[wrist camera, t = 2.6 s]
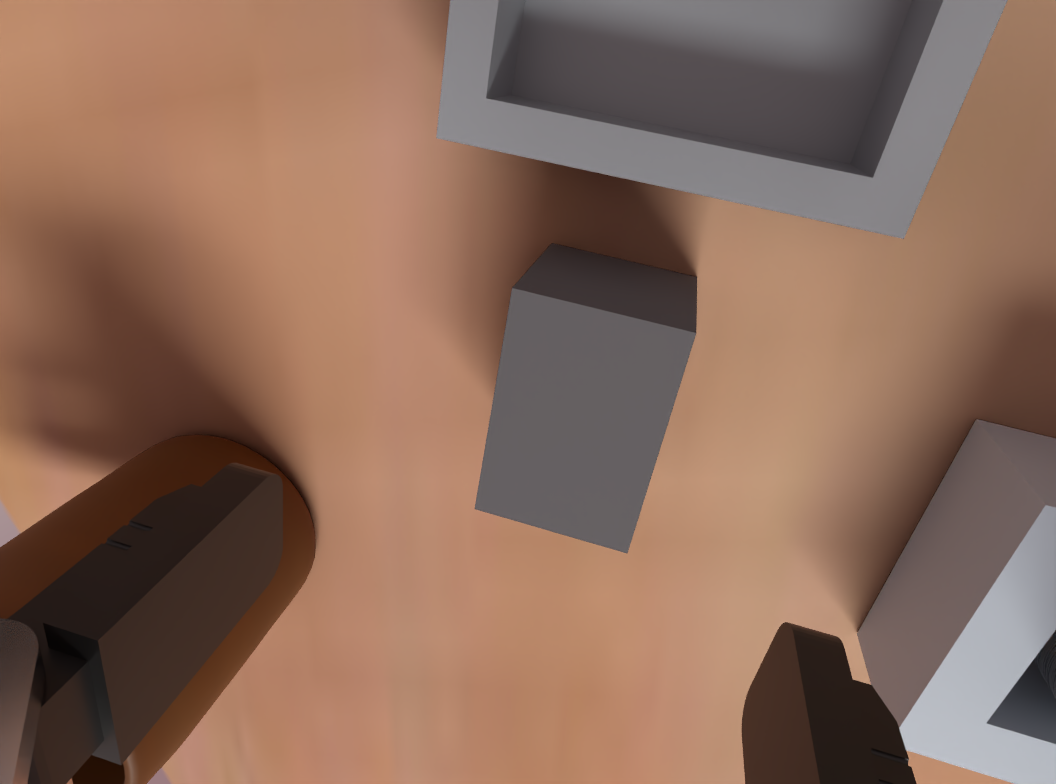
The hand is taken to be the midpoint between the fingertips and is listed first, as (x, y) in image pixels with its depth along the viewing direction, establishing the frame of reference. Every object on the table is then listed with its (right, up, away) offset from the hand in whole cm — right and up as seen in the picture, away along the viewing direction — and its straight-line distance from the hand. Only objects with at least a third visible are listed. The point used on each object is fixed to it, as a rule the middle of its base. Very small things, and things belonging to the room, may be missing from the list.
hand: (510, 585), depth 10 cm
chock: (+2, +4, +9) cm, 10 cm away
